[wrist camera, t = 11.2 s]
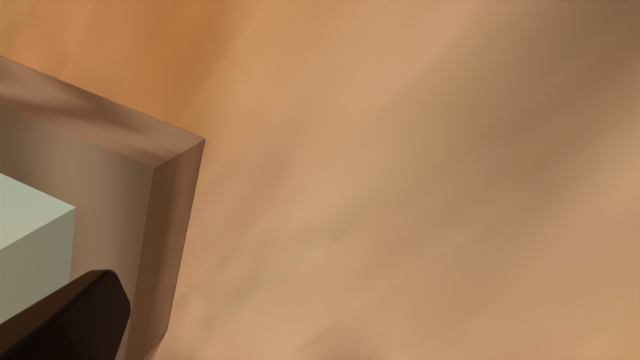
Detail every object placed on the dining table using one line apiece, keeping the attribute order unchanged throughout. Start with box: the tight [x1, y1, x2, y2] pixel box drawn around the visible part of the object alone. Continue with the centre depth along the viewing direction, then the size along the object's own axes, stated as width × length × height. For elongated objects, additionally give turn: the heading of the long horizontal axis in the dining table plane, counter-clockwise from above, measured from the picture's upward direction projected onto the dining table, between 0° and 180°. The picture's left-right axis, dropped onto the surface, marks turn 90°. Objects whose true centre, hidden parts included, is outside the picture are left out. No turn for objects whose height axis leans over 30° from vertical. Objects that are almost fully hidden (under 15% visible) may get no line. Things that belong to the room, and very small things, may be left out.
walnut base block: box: [0, 56, 205, 360], centre depth 24 cm, size 12×12×4 cm
